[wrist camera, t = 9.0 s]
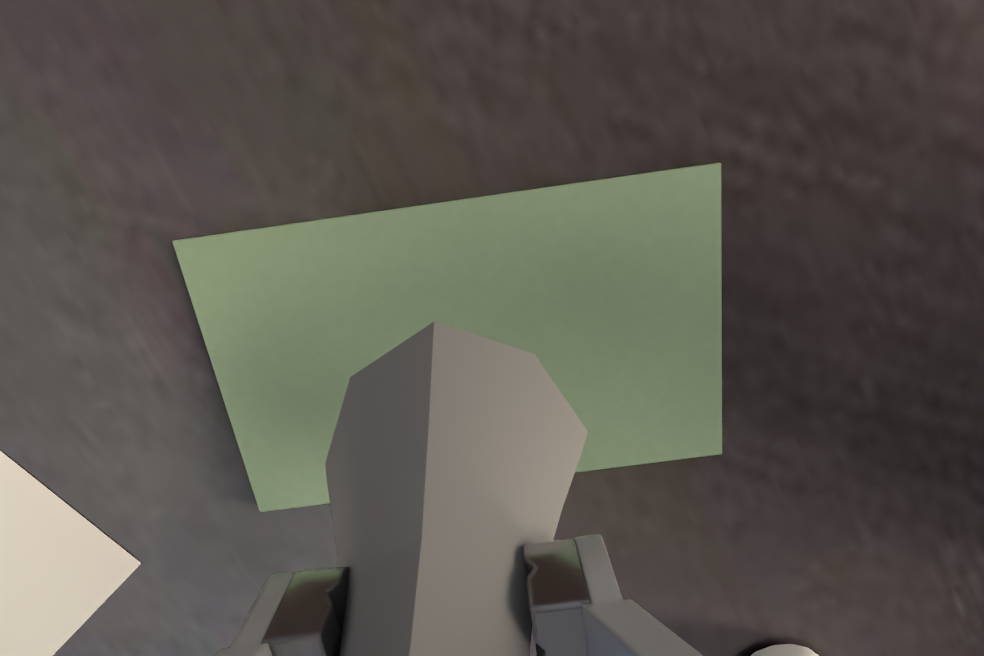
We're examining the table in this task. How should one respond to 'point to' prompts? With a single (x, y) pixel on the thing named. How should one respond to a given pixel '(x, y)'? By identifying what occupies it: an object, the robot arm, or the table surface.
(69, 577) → the milk
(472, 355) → the flask
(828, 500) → the table surface
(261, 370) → the placemat
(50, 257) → the table surface
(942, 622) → the table surface
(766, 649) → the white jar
